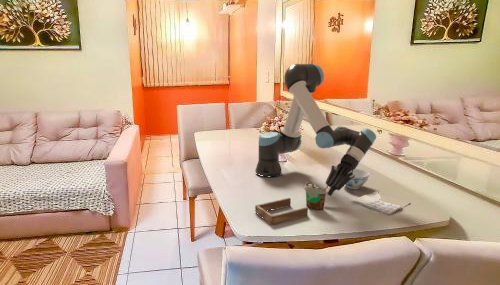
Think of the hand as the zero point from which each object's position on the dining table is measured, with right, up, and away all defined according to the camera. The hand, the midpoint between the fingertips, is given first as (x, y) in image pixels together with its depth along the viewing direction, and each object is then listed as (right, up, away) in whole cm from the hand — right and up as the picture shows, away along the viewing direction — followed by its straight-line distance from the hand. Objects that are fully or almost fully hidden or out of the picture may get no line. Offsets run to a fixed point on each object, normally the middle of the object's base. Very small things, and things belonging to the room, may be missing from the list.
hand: (322, 199), depth 153 cm
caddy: (-19, -5, -9) cm, 22 cm away
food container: (-5, -3, -1) cm, 6 cm away
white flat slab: (+28, -3, +4) cm, 28 cm away
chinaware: (+20, +2, +24) cm, 32 cm away
